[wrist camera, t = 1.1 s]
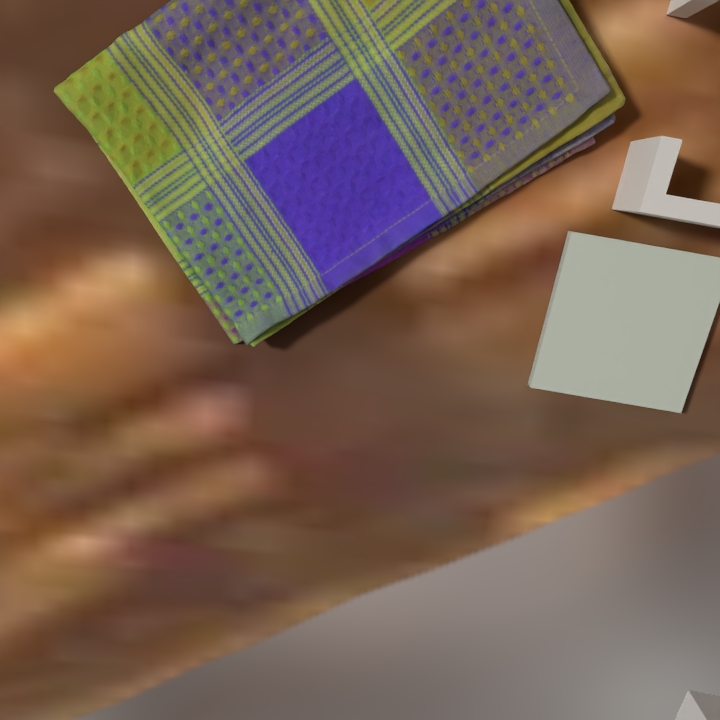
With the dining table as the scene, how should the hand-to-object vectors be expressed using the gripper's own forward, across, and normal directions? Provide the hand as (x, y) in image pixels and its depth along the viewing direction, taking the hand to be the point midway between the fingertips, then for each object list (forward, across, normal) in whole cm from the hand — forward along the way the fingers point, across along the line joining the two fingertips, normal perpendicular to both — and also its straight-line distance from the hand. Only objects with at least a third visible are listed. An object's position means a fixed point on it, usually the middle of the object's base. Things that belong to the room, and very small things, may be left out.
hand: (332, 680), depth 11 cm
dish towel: (+25, -4, +13) cm, 28 cm away
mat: (+24, +14, +4) cm, 29 cm away
